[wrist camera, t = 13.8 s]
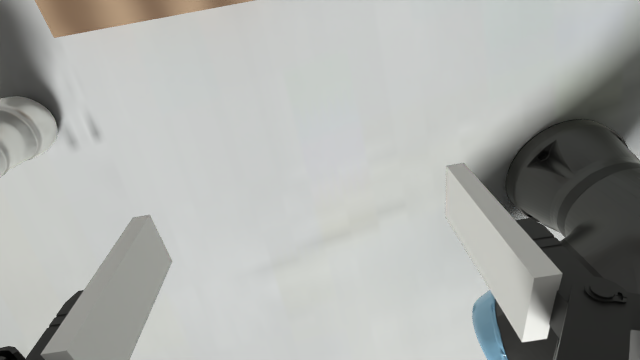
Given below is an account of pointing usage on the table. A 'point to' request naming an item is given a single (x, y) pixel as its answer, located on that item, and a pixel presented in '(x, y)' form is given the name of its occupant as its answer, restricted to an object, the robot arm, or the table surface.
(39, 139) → the plastic bottle
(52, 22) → the wooden board
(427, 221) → the table surface
